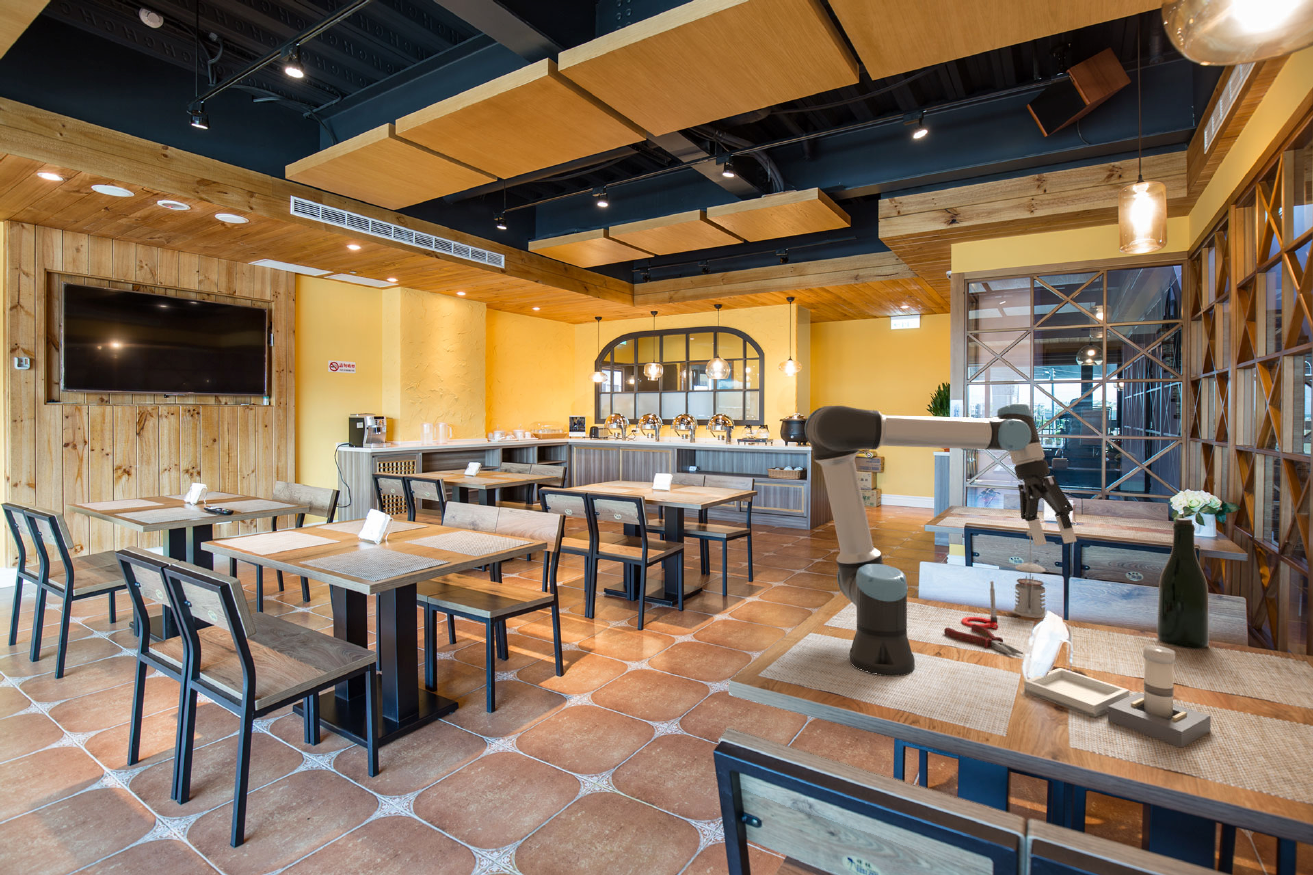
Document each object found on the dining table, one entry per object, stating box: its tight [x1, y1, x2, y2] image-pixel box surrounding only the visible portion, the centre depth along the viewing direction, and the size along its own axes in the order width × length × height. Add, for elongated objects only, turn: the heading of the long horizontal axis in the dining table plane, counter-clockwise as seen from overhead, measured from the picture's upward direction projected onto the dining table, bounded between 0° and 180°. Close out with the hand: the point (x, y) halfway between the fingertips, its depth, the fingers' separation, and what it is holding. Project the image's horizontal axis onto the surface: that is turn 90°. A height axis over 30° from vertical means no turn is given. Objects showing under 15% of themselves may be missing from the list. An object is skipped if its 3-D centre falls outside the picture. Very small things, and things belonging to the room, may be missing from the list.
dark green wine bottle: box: [1157, 517, 1210, 650], centre depth 167 cm, size 10×10×33 cm
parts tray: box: [1023, 667, 1130, 719], centre depth 136 cm, size 14×14×2 cm
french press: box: [1011, 531, 1047, 619], centre depth 193 cm, size 10×12×25 cm
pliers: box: [943, 623, 1024, 657], centre depth 168 cm, size 12×20×3 cm, turn 17°
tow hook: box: [961, 580, 999, 630], centre depth 184 cm, size 8×13×9 cm
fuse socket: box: [1107, 692, 1212, 749], centre depth 123 cm, size 12×12×4 cm
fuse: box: [1142, 644, 1176, 720], centre depth 123 cm, size 5×5×15 cm
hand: (1055, 543), depth 159 cm, fingers open, 13 cm apart
